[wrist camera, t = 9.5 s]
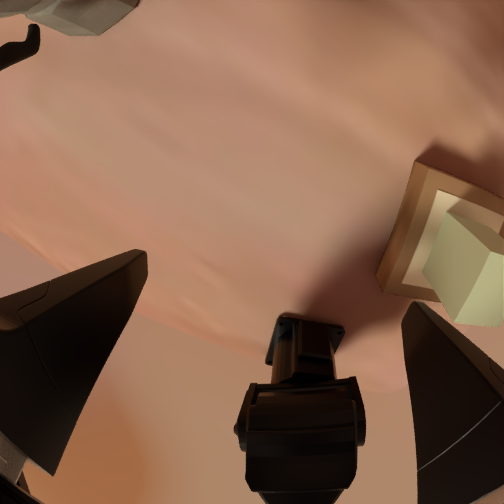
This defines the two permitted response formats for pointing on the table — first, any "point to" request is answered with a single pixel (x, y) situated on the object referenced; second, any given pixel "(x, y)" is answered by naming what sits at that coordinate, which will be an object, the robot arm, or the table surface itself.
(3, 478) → the robot arm
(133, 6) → the coffeepot
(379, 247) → the table surface
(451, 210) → the walnut base
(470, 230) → the sage block
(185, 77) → the table surface
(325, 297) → the table surface
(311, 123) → the table surface
